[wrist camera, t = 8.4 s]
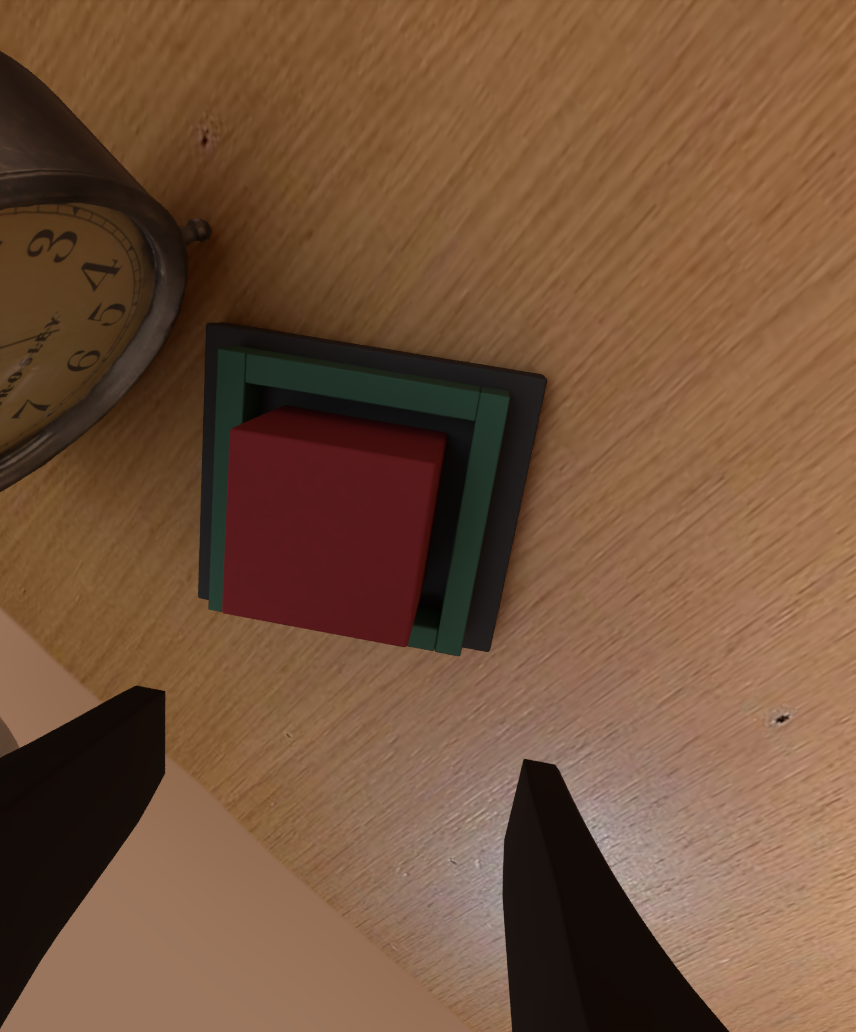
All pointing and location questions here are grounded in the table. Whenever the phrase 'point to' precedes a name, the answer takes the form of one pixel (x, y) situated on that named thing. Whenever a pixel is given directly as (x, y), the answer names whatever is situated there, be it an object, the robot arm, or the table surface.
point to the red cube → (330, 522)
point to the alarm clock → (74, 275)
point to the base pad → (400, 400)
